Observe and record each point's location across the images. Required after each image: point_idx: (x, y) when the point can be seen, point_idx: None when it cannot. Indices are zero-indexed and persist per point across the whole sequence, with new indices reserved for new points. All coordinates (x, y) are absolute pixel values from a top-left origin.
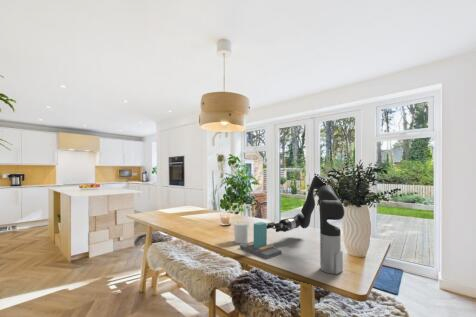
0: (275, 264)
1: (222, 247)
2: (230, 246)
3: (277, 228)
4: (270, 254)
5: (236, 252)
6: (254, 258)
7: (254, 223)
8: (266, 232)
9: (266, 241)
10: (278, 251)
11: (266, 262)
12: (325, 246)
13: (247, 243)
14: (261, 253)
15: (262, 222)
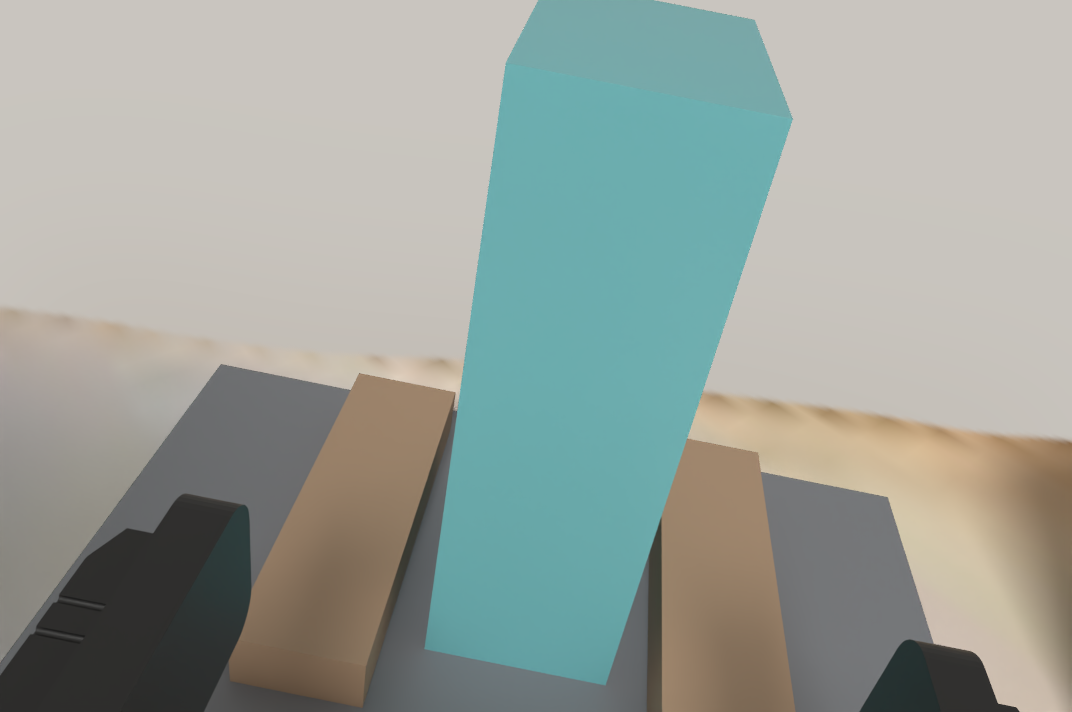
0: (39, 337)
1: (1031, 455)
2: (1031, 533)
3: (156, 534)
4: (184, 417)
5: (738, 411)
6: (401, 367)
7: (751, 26)
8: (466, 348)
9: (440, 546)
10: (61, 584)
11: (187, 339)
12: None
13: (901, 625)
14: (347, 395)
15: (697, 91)
